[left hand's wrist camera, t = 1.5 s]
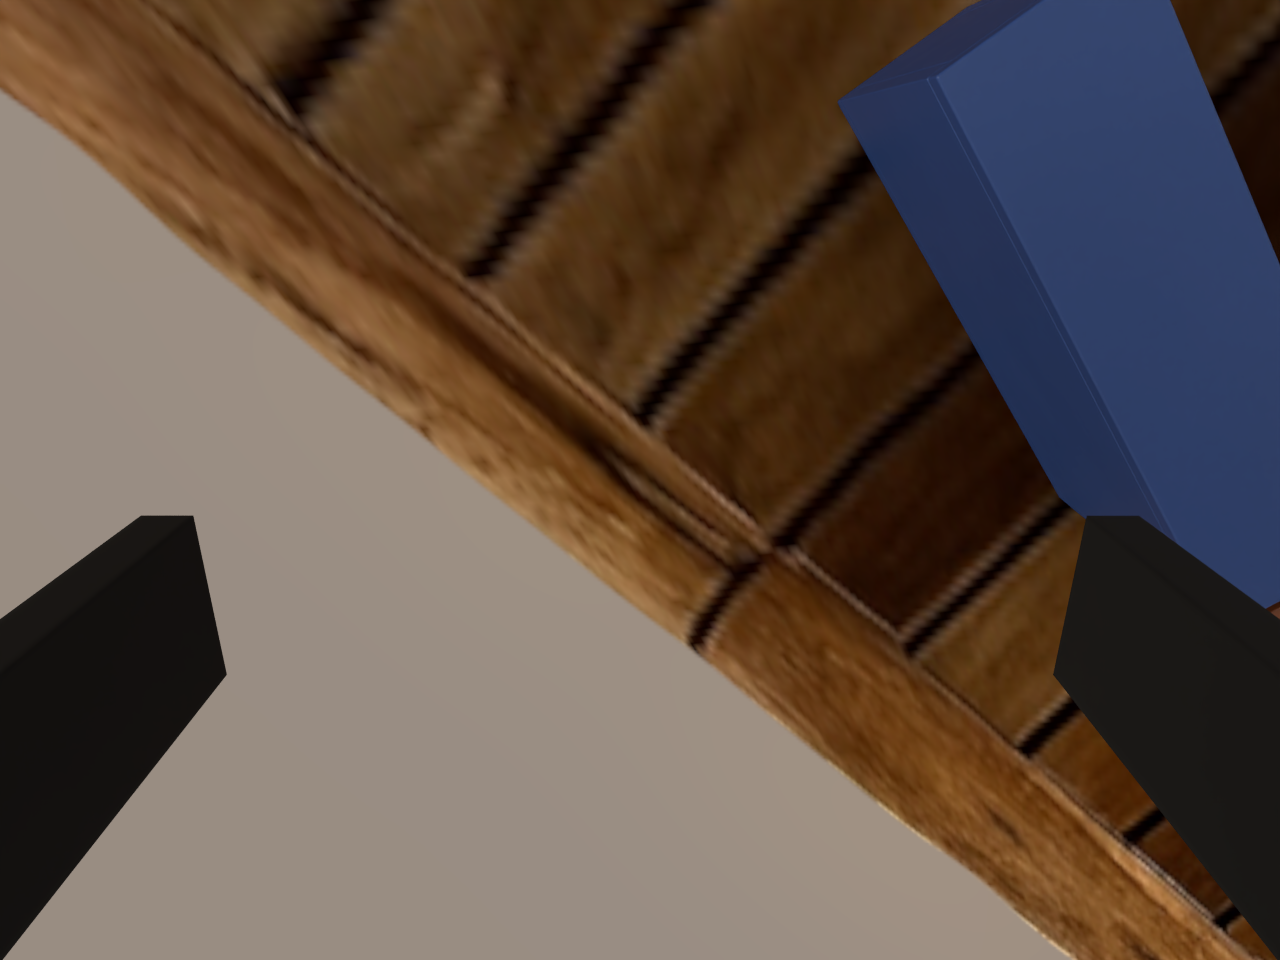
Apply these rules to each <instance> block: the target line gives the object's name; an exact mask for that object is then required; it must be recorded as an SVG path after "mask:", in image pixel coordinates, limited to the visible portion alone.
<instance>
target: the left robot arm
mask: <svg viewBox="0 0 1280 960" xmlns="http://www.w3.org/2000/svg"><path fill="white" fill-rule="evenodd" d="M226 675H227V674H226V669H225V664H224V660H223V655H222V650H221V646H220V640H219V636H218V631H217V626H216V621H215V617H214V612H213V607H212V602H211V598H210V593H209V588H208V583H207V579H206V574H205V569H204V564H203V560H202V555H201V550H200V545H199V541H198V536H197V531H196V526H195V522H194V517H193V516H140V517H139V518H137V519H136V520H135V521H133V522H132V523H130V524H129V525H128V526H126V527H125V528H124V529H122V530H121V531H120V532H118V533H117V534H116V535H114V536H113V537H111V538H110V539H109V540H107V541H106V542H105V543H103V544H102V545H101V546H99V547H98V548H96V549H95V550H94V551H92V552H91V553H90V554H88V555H87V556H86V557H84V558H83V559H81V560H80V561H79V562H77V563H76V564H75V565H73V566H72V567H71V568H69V569H68V570H67V571H65V572H64V573H62V574H61V575H60V576H58V577H57V578H56V579H54V580H53V581H52V582H50V583H49V584H47V585H46V586H45V587H43V588H42V589H41V590H39V591H38V592H37V593H35V594H34V595H33V596H31V597H30V598H28V599H27V600H26V601H24V602H23V603H22V604H20V605H19V606H17V607H16V608H15V609H13V610H12V611H11V612H9V613H8V614H7V615H5V616H4V617H3V618H1V619H0V960H3V958H4V957H5V956H6V955H7V953H8V952H9V951H10V950H11V948H12V947H13V946H14V945H15V943H16V942H17V941H18V939H19V938H20V937H21V936H22V934H23V933H24V932H25V931H26V929H27V928H28V927H29V925H30V924H31V923H32V922H33V920H34V919H35V918H36V917H37V915H38V914H39V913H40V912H41V910H42V909H43V908H44V906H45V905H46V904H47V903H48V901H49V900H50V899H51V897H52V896H53V895H54V894H55V892H56V891H57V890H58V889H59V887H60V886H61V885H62V884H63V882H64V881H65V880H66V878H67V877H68V876H69V875H70V873H71V872H72V871H73V870H74V868H75V867H76V866H77V864H78V863H79V862H80V861H81V859H82V858H83V857H84V856H85V854H86V853H87V852H88V850H89V849H90V848H91V847H92V845H93V844H94V843H95V842H96V840H97V839H98V838H99V836H100V835H101V834H102V833H103V831H104V830H105V829H106V827H107V826H108V825H109V824H110V822H111V821H112V820H113V819H114V817H115V816H116V815H117V814H118V812H119V811H120V810H121V808H122V807H123V806H124V805H125V803H126V802H127V801H128V800H129V798H130V797H131V796H132V794H133V793H134V792H135V791H136V789H137V788H138V787H139V786H140V784H141V783H142V782H143V781H144V779H145V778H146V777H147V775H148V774H149V773H150V772H151V770H152V769H153V768H154V767H155V765H156V764H157V763H158V761H159V760H160V759H161V758H162V756H163V755H164V754H165V752H166V751H167V750H168V749H169V747H170V746H171V745H172V744H173V742H174V741H175V740H176V739H177V737H178V736H179V735H180V733H181V732H182V731H183V730H184V728H185V727H186V726H187V725H188V723H189V722H190V721H191V719H192V718H193V717H194V716H195V714H196V713H197V712H198V710H199V709H200V708H201V707H202V705H203V704H204V703H205V702H206V700H207V699H208V698H209V697H210V695H211V694H212V693H213V691H214V690H215V689H216V688H217V686H218V685H219V684H220V683H221V681H222V680H223V679H224V678H225V676H226ZM1053 675H1054V676H1055V678H1056V679H1057V680H1058V681H1059V683H1060V684H1061V685H1062V686H1063V688H1064V689H1065V690H1066V691H1067V693H1068V694H1069V695H1070V697H1071V698H1072V699H1073V700H1074V702H1075V703H1076V704H1077V705H1078V707H1079V708H1080V709H1081V711H1082V712H1083V713H1084V714H1085V716H1086V717H1087V718H1088V719H1089V721H1090V722H1091V723H1092V725H1093V726H1094V727H1095V728H1096V730H1097V731H1098V732H1099V733H1100V735H1101V736H1102V737H1103V739H1104V740H1105V741H1106V742H1107V744H1108V745H1109V746H1110V747H1111V749H1112V750H1113V751H1114V753H1115V754H1116V755H1117V756H1118V758H1119V759H1120V760H1121V761H1122V763H1123V764H1124V765H1125V767H1126V768H1127V769H1128V770H1129V772H1130V773H1131V774H1132V775H1133V777H1134V778H1135V779H1136V781H1137V782H1138V783H1139V784H1140V786H1141V787H1142V788H1143V789H1144V791H1145V792H1146V793H1147V795H1148V796H1149V797H1150V798H1151V800H1152V801H1153V802H1154V803H1155V805H1156V806H1157V807H1158V808H1159V810H1160V811H1161V812H1162V814H1163V815H1164V816H1165V817H1166V819H1167V820H1168V821H1169V822H1170V824H1171V825H1172V826H1173V828H1174V829H1175V830H1176V831H1177V833H1178V834H1179V835H1180V836H1181V838H1182V839H1183V840H1184V842H1185V843H1186V844H1187V845H1188V847H1189V848H1190V849H1191V850H1192V852H1193V853H1194V854H1195V856H1196V857H1197V858H1198V859H1199V861H1200V862H1201V863H1202V864H1203V866H1204V867H1205V868H1206V870H1207V871H1208V872H1209V873H1210V875H1211V876H1212V877H1213V878H1214V880H1215V881H1216V882H1217V884H1218V885H1219V886H1220V887H1221V889H1222V890H1223V891H1224V892H1225V894H1226V895H1227V896H1228V898H1229V899H1230V900H1231V901H1232V903H1233V904H1234V905H1235V906H1236V908H1237V909H1238V910H1239V912H1240V913H1241V914H1242V915H1243V917H1244V918H1245V919H1246V920H1247V922H1248V923H1249V924H1250V925H1251V927H1252V928H1253V929H1254V931H1255V932H1256V933H1257V934H1258V936H1259V937H1260V938H1261V939H1262V941H1263V942H1264V943H1265V945H1266V946H1267V947H1268V948H1269V950H1270V951H1271V952H1272V953H1273V955H1274V956H1275V957H1276V959H1277V960H1280V619H1279V618H1277V617H1276V616H1275V615H1273V614H1272V613H1271V612H1269V611H1268V610H1267V609H1265V608H1264V607H1263V606H1261V605H1260V604H1258V603H1257V602H1256V601H1254V600H1253V599H1252V598H1250V597H1249V596H1248V595H1246V594H1245V593H1243V592H1242V591H1241V590H1239V589H1238V588H1237V587H1235V586H1234V585H1233V584H1231V583H1230V582H1228V581H1227V580H1226V579H1224V578H1223V577H1222V576H1220V575H1219V574H1218V573H1216V572H1215V571H1214V570H1212V569H1211V568H1209V567H1208V566H1207V565H1205V564H1204V563H1203V562H1201V561H1200V560H1199V559H1197V558H1196V557H1194V556H1193V555H1192V554H1190V553H1189V552H1188V551H1186V550H1185V549H1184V548H1182V547H1181V546H1179V545H1178V544H1177V543H1175V542H1174V541H1173V540H1171V539H1170V538H1169V537H1167V536H1166V535H1165V534H1163V533H1162V532H1160V531H1159V530H1158V529H1156V528H1155V527H1154V526H1152V525H1151V524H1150V523H1148V522H1147V521H1145V520H1144V519H1143V518H1141V517H1140V516H1087V517H1086V522H1085V526H1084V531H1083V536H1082V541H1081V545H1080V550H1079V555H1078V560H1077V564H1076V569H1075V574H1074V579H1073V583H1072V588H1071V593H1070V598H1069V602H1068V607H1067V612H1066V617H1065V621H1064V626H1063V631H1062V636H1061V640H1060V645H1059V650H1058V655H1057V659H1056V664H1055V669H1054V674H1053Z"/></svg>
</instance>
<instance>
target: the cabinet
mask: <svg viewBox="0 0 1280 960" xmlns="http://www.w3.org/2000/svg"><path fill="white" fill-rule="evenodd" d="M838 104H839V106H840V108H841V110H842V112H843V113H844V115H845V117H846V119H847V120H848V122H849V124H850V126H851V128H852V129H853V131H854V133H855V135H856V136H857V138H858V140H859V142H860V144H861V145H862V147H863V149H864V151H865V152H866V154H867V156H868V158H869V160H870V161H871V163H872V165H873V167H874V168H875V170H876V172H877V174H878V176H879V177H880V179H881V181H882V183H883V184H884V186H885V188H886V190H887V192H888V193H889V195H890V197H891V199H892V200H893V202H894V204H895V206H896V208H897V209H898V211H899V213H900V215H901V216H902V218H903V220H904V222H905V224H906V225H907V227H908V229H909V231H910V232H911V234H912V236H913V238H914V240H915V241H916V243H917V245H918V247H919V248H920V250H921V252H922V254H923V256H924V257H925V259H926V261H927V263H928V265H929V266H930V268H931V270H932V272H933V273H934V275H935V277H936V279H937V281H938V282H939V284H940V286H941V288H942V289H943V291H944V293H945V295H946V297H947V298H948V300H949V302H950V304H951V305H952V307H953V309H954V311H955V313H956V314H957V316H958V318H959V320H960V321H961V323H962V325H963V327H964V329H965V330H966V332H967V334H968V336H969V337H970V339H971V341H972V343H973V345H974V346H975V348H976V350H977V352H978V353H979V355H980V357H981V359H982V361H983V362H984V364H985V366H986V368H987V369H988V371H989V373H990V375H991V377H992V378H993V380H994V382H995V384H996V385H997V387H998V389H999V391H1000V393H1001V394H1002V396H1003V398H1004V400H1005V401H1006V403H1007V405H1008V407H1009V409H1010V410H1011V412H1012V414H1013V416H1014V417H1015V419H1016V421H1017V423H1018V425H1019V426H1020V428H1021V430H1022V432H1023V433H1024V435H1025V437H1026V439H1027V441H1028V442H1029V444H1030V446H1031V448H1032V449H1033V451H1034V453H1035V455H1036V457H1037V458H1038V460H1039V462H1040V464H1041V465H1042V467H1043V469H1044V471H1045V473H1046V474H1047V476H1048V478H1049V480H1050V481H1051V483H1052V485H1053V487H1054V489H1055V490H1056V492H1057V494H1058V496H1059V497H1060V498H1061V499H1062V500H1063V501H1065V502H1066V503H1067V504H1068V505H1069V506H1070V507H1072V508H1073V509H1074V510H1075V511H1076V512H1078V513H1079V514H1080V515H1081V516H1083V517H1084V518H1085V519H1086V517H1087V516H1140V517H1141V518H1143V519H1144V520H1145V521H1147V522H1148V523H1150V524H1151V525H1152V526H1154V527H1155V528H1156V529H1158V530H1159V531H1160V532H1162V533H1163V534H1165V535H1166V536H1167V537H1169V538H1170V539H1171V540H1173V541H1174V542H1175V543H1177V544H1178V545H1179V546H1181V547H1182V548H1184V549H1185V550H1186V551H1188V552H1189V553H1190V554H1192V555H1193V556H1194V557H1196V558H1197V559H1199V560H1200V561H1201V562H1203V563H1204V564H1205V565H1207V566H1208V567H1209V568H1211V569H1212V570H1214V571H1215V572H1216V573H1218V574H1219V575H1220V576H1222V577H1223V578H1224V579H1226V580H1227V581H1228V582H1230V583H1231V584H1233V585H1234V586H1235V587H1237V588H1238V589H1239V590H1241V591H1242V592H1243V593H1245V594H1246V595H1248V596H1249V597H1250V598H1252V599H1253V600H1254V601H1256V602H1257V603H1258V604H1260V605H1261V606H1263V607H1264V608H1265V609H1266V608H1268V607H1270V606H1272V605H1274V604H1275V603H1277V602H1279V601H1280V264H1279V262H1278V259H1277V257H1276V254H1275V252H1274V250H1273V247H1272V245H1271V242H1270V240H1269V237H1268V235H1267V233H1266V230H1265V228H1264V225H1263V223H1262V221H1261V218H1260V216H1259V213H1258V211H1257V209H1256V206H1255V204H1254V201H1253V199H1252V196H1251V194H1250V192H1249V189H1248V187H1247V184H1246V182H1245V180H1244V177H1243V175H1242V172H1241V170H1240V168H1239V165H1238V163H1237V160H1236V158H1235V155H1234V153H1233V151H1232V148H1231V146H1230V143H1229V141H1228V139H1227V136H1226V134H1225V131H1224V129H1223V127H1222V124H1221V122H1220V119H1219V117H1218V114H1217V112H1216V110H1215V107H1214V105H1213V102H1212V100H1211V98H1210V95H1209V93H1208V90H1207V88H1206V86H1205V83H1204V81H1203V78H1202V76H1201V74H1200V71H1199V69H1198V66H1197V64H1196V61H1195V59H1194V57H1193V54H1192V52H1191V49H1190V47H1189V45H1188V42H1187V40H1186V37H1185V35H1184V33H1183V30H1182V28H1181V25H1180V23H1179V20H1178V18H1177V16H1176V13H1175V11H1174V8H1173V6H1172V4H1171V1H1170V0H982V1H980V2H977V3H975V4H973V5H971V6H969V7H967V8H965V9H964V10H963V11H961V12H960V13H958V14H957V15H956V16H954V17H953V18H952V19H950V20H949V21H947V22H946V23H945V24H943V25H942V26H940V27H939V28H938V29H936V30H935V31H934V32H932V33H931V34H929V35H928V36H927V37H925V38H924V39H923V40H921V41H920V42H918V43H917V44H916V45H914V46H913V47H911V48H910V49H909V50H907V51H906V52H905V53H903V54H902V55H900V56H899V57H898V58H896V59H895V60H893V61H892V62H891V63H889V64H888V65H887V66H885V67H884V68H882V69H881V70H880V71H878V72H877V73H876V74H874V75H873V76H871V77H870V78H869V79H867V80H866V81H864V82H863V83H862V84H860V85H859V86H858V87H856V88H855V89H853V90H852V91H851V92H849V93H848V94H847V95H845V96H844V97H842V98H841V99H840V100H839V101H838Z"/></svg>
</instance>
